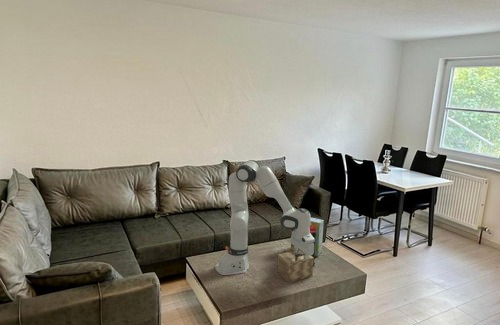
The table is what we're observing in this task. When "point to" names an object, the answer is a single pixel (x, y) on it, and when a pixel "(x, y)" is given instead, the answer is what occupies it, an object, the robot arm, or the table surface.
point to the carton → (295, 269)
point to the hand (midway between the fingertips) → (301, 255)
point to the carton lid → (294, 257)
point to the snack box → (319, 235)
